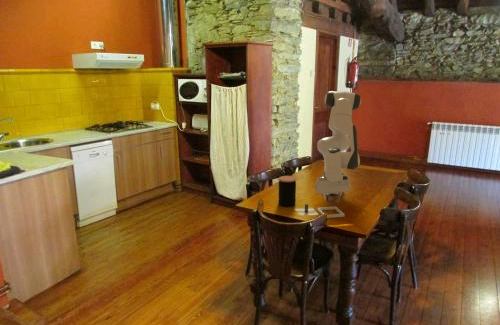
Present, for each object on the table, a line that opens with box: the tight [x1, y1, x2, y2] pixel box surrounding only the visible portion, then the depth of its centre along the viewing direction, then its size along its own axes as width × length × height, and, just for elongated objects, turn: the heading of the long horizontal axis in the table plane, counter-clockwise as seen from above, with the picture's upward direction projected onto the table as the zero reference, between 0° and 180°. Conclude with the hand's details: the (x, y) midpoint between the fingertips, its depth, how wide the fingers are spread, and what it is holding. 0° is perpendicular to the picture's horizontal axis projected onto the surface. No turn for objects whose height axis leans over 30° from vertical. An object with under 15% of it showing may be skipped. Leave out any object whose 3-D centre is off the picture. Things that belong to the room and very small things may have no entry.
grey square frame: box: [316, 206, 345, 219], centre depth 206 cm, size 12×12×2 cm
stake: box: [294, 203, 320, 217], centre depth 208 cm, size 11×11×6 cm
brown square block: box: [325, 193, 341, 205], centre depth 203 cm, size 6×6×4 cm
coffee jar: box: [278, 175, 297, 208], centre depth 219 cm, size 11×11×18 cm
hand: (332, 199), depth 204 cm, fingers closed on brown square block, 6 cm apart
